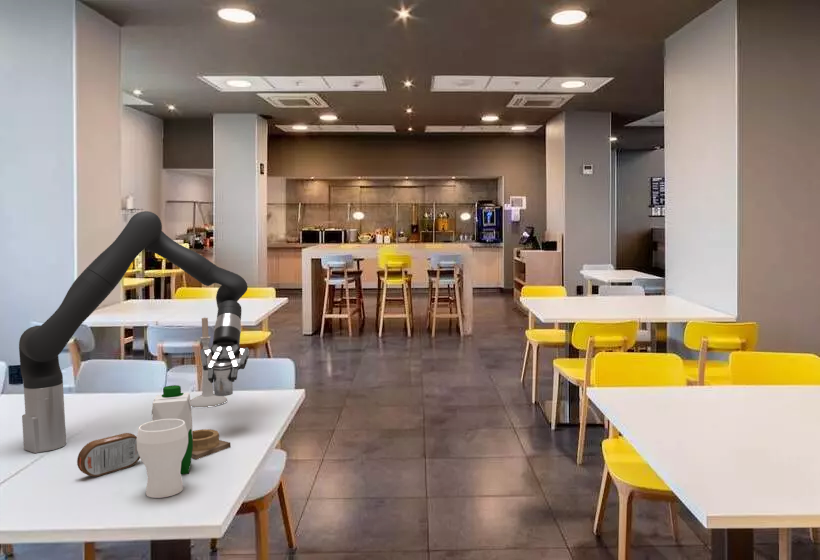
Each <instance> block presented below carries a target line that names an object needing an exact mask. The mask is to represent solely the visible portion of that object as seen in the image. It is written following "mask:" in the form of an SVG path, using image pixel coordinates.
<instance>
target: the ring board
mask: <svg viewBox="0 0 820 560" xmlns="http://www.w3.org/2000/svg"><path fill="white" fill-rule="evenodd" d="M192 432H193V451H192V459H193V460H199V458H200V459H202V458H205V457H207V456H210V455H213V454H215V453H219V452H220V451H224V450H226V449H229V448H231V446H232V445H231V442H229V441H225V440H222V439H220V433H219V432H218V430H215V429H211V428H210V429H206V428H205V429H204V428H203V429H197V430H196V429H195V430H192ZM192 459H191V460H192Z"/></svg>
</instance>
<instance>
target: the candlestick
mask: <svg viewBox="0 0 820 560" xmlns="http://www.w3.org/2000/svg"><path fill="white" fill-rule="evenodd" d="M211 337H212V336H209V318H208V317H202V318H201V336H200V337H199V339H201V343H202V345H203V347H202V349H204V350H210V347H209V343H210V339H211ZM210 355H211V354H210ZM210 355H209V357H208V358H207V364H210V362H211V356H210ZM201 389H202V392H201V394H199V395H197V396H195V397H193V398H190V400H191V406H193V407H192V408H195V407H207V408H209V407H208V406H215V405H218V404H222V403H224V402H226V401H227V402H228V398H227V397H226V396H215V395H214V385H213V383H210V381H209V380H208V370H206V371H205V370H204V369H203V368H202V388H201ZM227 402H226V403H227ZM222 405H223V404H222ZM215 407H216V406H215Z"/></svg>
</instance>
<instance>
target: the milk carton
mask: <svg viewBox="0 0 820 560" xmlns="http://www.w3.org/2000/svg"><path fill="white" fill-rule="evenodd" d="M162 392H163V394H157V395H156V396H155V398H153V402H152V409H151V415H152V421H155V420H161V419H180V420H183V421H184V422H185V425H186V428H187V432H188V446H187V450H186V453H185V455H184V457H183V459H182V461H181V472H180V473H181V475H187V474H189V473H190V469H191V465H192V451H193V432H192V431H193V416H192V415H193V412H192V407H191V396H190V395H191V394H190V392H182V386H181V385H179V384H178V385H176V384H175V385H174V384H173V385H167V386H164V387H163V389H162Z"/></svg>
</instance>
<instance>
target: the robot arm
mask: <svg viewBox="0 0 820 560" xmlns="http://www.w3.org/2000/svg"><path fill="white" fill-rule="evenodd" d="M162 230H163V225H162V220H161V219H160V217H159V215H157V214H156V213H155V212H152V211H147V210H145V211H140V212H137V213H135V214H134V215H132V216H131V217H130V219H129V221H127V223H126V225H125V227H124V228H123V229H122V231H121V232H120V233H119V235H118V236H117V237H116V238H115V240H114V241H112V243H111V244H110V245H109V246H108V247H107V248H106V249H104V250H103V251H102V252H101V253H100V254H99V255H98V256H97V257H96V258H95V259H94V260H92V262H91V263H90V264H89V265H88V266H86V268H85V269H84V270H83V271H82V272H81V273H80V274H79V276H77V277H76V279H75V280H74V281H73V283H72V284H71V286H70V287H69V289H68V290H67V293H66V294H65V296H64V298H63V300H62V302H61V304H59V307H58V308H57V309H56V311H54V313H52V315H50V317H48V318H47V320H46V321H44V322H43V323H42V324H41V325H34V326H31V327H29V328H27V329H26V330H24V331H23V332H22V334H21V335H20V338H19V342H18V350H19V351H18V352H19V366H20V375H21V378H22V382H23V383H22V384H23V394H24V395H23V396H24V397H23V399H24V400H23V401H24V414H22V416H21V421H22V439H23V450H25V451H27V452H30V453H34V454H36V453H43V452H50V451H53V450H57V449H60V448H63V447H65V446H66V445H67V434H66V431H67V430H66V415H65V397H64V378H63V372H62V369H61V367H60V359H59V355H60V354H61V353H62V352H63V350H64V349H65V348H66V347H67V344H68V343H69V342H70V340H71V339H72V338H73V336H74V335H75V333H76V332H77V330H78V329H79V328H80V327H81V325H82V324H83V323H84V322H85V321H86V320H87V319H88V318H89V317H90V316H91V315H92V313H94V312H95V310H97V308H98V307H99V306H100V305H101V304H102V303H103V302H105V300H106V298H107V297H108V296H109V295H110V294H111V293H112V292H113V291H114V289H115V288H116V287H117V286H118V284H119V283H120V282H121V281H122V279H123V277H124V276H125V274H126V273H127V271H128V270H129V268H130V266H131V265H132V263H133V262H134V260H135V259H136V258H137V256H139V255H140V254H141V253H142V252H143V251H144V250H145V249H146V250H148V251H150V252H152V253H154V254H156V255H158V256H159V257H161V258H163V259H165V260H166V261H169V263H172V264H173V265H174V266H177V268H179V269H181V270H182V271H183V272H185V273H187V274H188V275H189V276H190V277H192V278H193V279H194V280H196V281H198V282H199V283H201V284H202V285H204V286H206V287H210V286H212V285H213V284H218V285H220V287H219V288H218V289H217V291H216V295H215V300H216V306H217V315H216V320H215V324H214V331H213V339H212V345H211V347H210V348H209V350H204V349H203V348H202V349H200V358H201V365H202V366H201V367H202V370H203V369H204V370H205V371H206V370H208V380H209V381H210V383H212V384H214V371H213V363H214V362H218V361H231V362H232V372H231V381H232V383H234V382H235V381H237V380H238V372H239V371H240V370H244V369H246V365H247V363H248V359H249V356H250V350H249V348H248V347H245V348H241V347H240V339H241V334H242V333H241V332H242V324H241V322H242V320H241V319H242V305H241V304H240V303H239V302H238V301H239V300H240V299H241V298H242V297H243V296H244V295H245V294H246V293H247V291H248V287H249V286H248V283H247V281H246V280H245V278H244V277H243V276H241V275H239V274H238V273H236V272H233V271H230V270H228V269H226V268H222V267H220V266H217V265H216V264H214V263H213V262H212V261H210V260H209V259H208V258H206V257H204V256H203V255H202V254H200V253H198V252H197V251H194V250H192V249H190V248H187V247H185V246H183V245H182V244H180V243H178V242H177V241H175V240H174V239H172V238H171V237H169V236H168V235H167V234H166V233H165V232H164V231H162ZM239 354H240V355H241V358H240V360H239V362H238V363H237V359H236V358H237V357H238V356H239ZM209 355H211V356H212V358H211V359H210V364H207V358H208V357H209Z"/></svg>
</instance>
